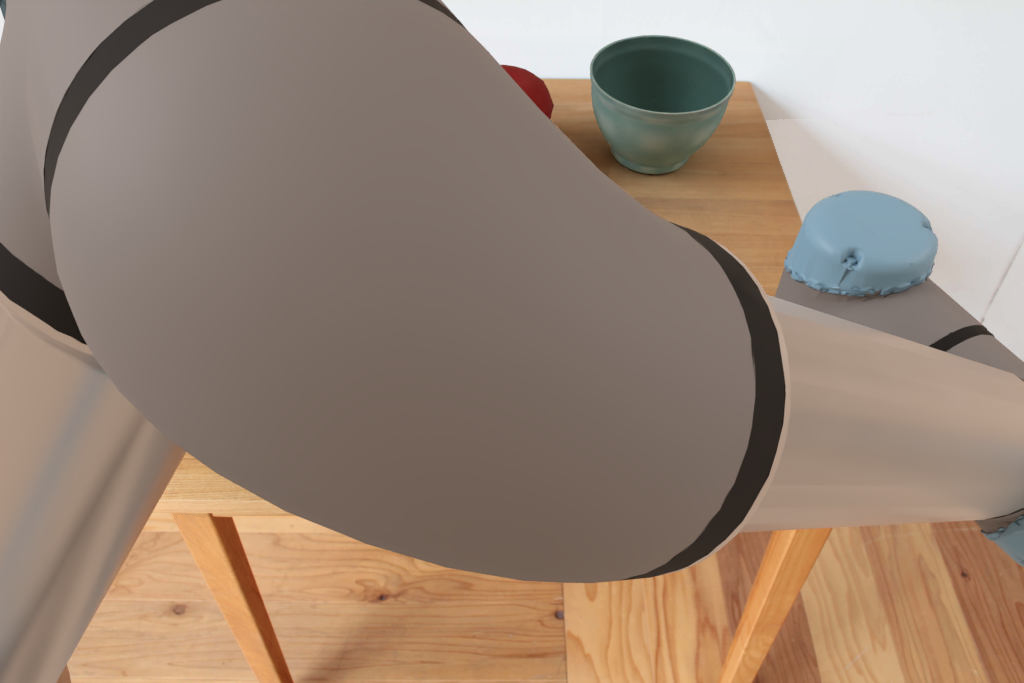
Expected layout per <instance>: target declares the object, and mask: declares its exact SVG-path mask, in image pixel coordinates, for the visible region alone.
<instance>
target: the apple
mask: <svg viewBox="0 0 1024 683" xmlns="http://www.w3.org/2000/svg"><path fill="white" fill-rule="evenodd" d="M500 65H501V66H502V68H503V69H504V70H505V71H506V72H507V73H508V74H509V75H510V76H511V78H512V79H513V80H514V81H515V82H516V83H517V84H518V85H519V87H520V88H521V89H522V90H523V91H524V92H525V93H526V94H527V96H528V97H529V98H530V99H531V100H532V101H533V102H534V103H535V105H536V106H537V107H538V108H539V109H540V110H541V111H542V112H543V113H544V114H545V115H546V116H547V117H548V118H549V119H550V120H551V118H552V115H553V110H554V106H555V105H554V102H553V99H552V97H551V93H550V91H549V89H548V86H547V85H546V83H545V81H544V80H543V79H542V78H540V77H539V76H538V75H536V74H534V72H531V70H528V69H526V68H522V67H520V66H515V65H510V64H509V65H508V64H500Z"/></svg>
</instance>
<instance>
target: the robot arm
mask: <svg viewBox="0 0 1024 683" xmlns="http://www.w3.org/2000/svg"><path fill="white" fill-rule="evenodd" d="M0 12H1V15H2V18H3V20H4V22H3V28H2V33H1V37H0V683H72V679H71V674H70V671H69V667H68V663H69V661H70V659H71V658H72V656H73V653H75V650H76V649H77V647H78V645H79V643H80V641H81V640H82V638H83V636H84V634H85V633H86V631H87V629H88V627H89V625H90V624H91V622H92V620H93V618H94V616H96V613H97V611H98V609H99V608H100V606H101V604H102V602H103V601H104V599H105V598H106V595H107V594H108V592H109V590H110V588H111V586H112V585H113V583H114V582H115V579H116V578H117V576H118V574H119V572H120V571H121V569H122V567H123V565H124V563H125V562H126V560H127V558H128V557H129V555H130V553H131V551H132V549H133V548H134V546H135V544H136V542H137V540H138V538H139V537H140V535H141V534H142V531H143V530H144V528H145V526H146V524H147V523H148V521H149V519H150V518H151V516H152V514H153V512H154V510H155V508H156V507H157V505H158V503H159V502H160V499H161V498H162V496H163V494H164V493H165V491H166V489H167V487H168V486H169V484H170V482H171V480H172V478H173V477H174V475H175V473H176V471H177V470H178V468H179V466H180V464H181V462H182V461H183V459H184V457H185V456H186V454H189V455H190V456H191V457H193V458H194V459H195V460H197V461H199V463H202V465H204V466H205V467H206V468H208V469H210V470H211V471H212V472H214V473H215V474H217V475H218V476H220V477H222V478H224V479H226V480H228V481H230V482H231V483H233V484H235V485H237V486H238V487H241V488H242V489H244V490H246V491H248V492H249V493H251V494H254V495H255V496H257V497H259V498H261V499H262V500H264V501H266V502H267V503H270V504H272V505H273V506H274V507H277V508H278V509H281V510H283V511H284V512H286V513H288V514H292V515H294V516H296V517H299V518H301V519H304V520H306V521H309V522H311V523H313V524H317V525H319V526H321V527H324V528H325V529H328V530H331V531H333V532H336V533H338V534H341V535H344V536H346V537H349V538H351V539H353V540H356V541H358V542H360V543H363V544H365V545H369V546H372V547H375V548H379V549H382V550H386V551H388V552H392V553H395V554H399V555H403V556H406V557H409V558H413V559H415V560H420V561H423V562H426V563H430V564H433V565H436V566H440V567H442V568H447V569H451V570H458V571H464V572H470V573H474V574H475V573H476V574H481V575H487V576H494V577H498V578H504V579H510V580H515V581H521V582H536V583H537V582H539V583H559V584H561V583H562V584H600V583H611V582H621V581H631V580H640V579H641V580H642V579H650V578H655V577H661V576H664V575H669V574H673V573H679V572H682V571H684V570H686V569H689V568H691V567H693V566H696V565H698V564H701V563H702V562H704V561H705V560H707V559H708V558H710V557H711V556H713V555H714V554H716V553H717V552H719V551H720V550H722V549H723V548H724V547H725V546H727V544H728V543H730V541H732V540H733V539H734V538H735V537H736V536H737V535H738V534H740V533H759V532H776V531H777V532H778V531H796V530H797V531H798V530H815V529H817V530H818V529H835V528H855V527H871V526H872V527H873V526H874V527H875V526H891V525H892V526H894V525H909V524H910V525H912V524H928V523H930V524H931V523H948V522H949V523H950V522H969V521H974V523H975V524H977V526H979V528H980V533H981V534H983V536H984V537H985V538H986V540H989V541H991V542H993V543H994V544H995V545H996V546H997V547H998V548H1000V550H1002V551H1003V552H1004V553H1005V554H1006V555H1007V556H1008V557H1009V558H1011V560H1013V561H1014V562H1015V563H1016V564H1018V565H1019V566H1021V567H1023V568H1024V361H1023V360H1022V359H1021V358H1019V357H1018V356H1017V355H1016V354H1015V353H1014V352H1012V350H1010V349H1009V348H1008V347H1006V345H1004V344H1003V343H1002V342H1001V341H1000V340H999V339H997V338H996V336H995V335H994V334H993V333H992V332H991V331H989V329H988V328H987V327H986V326H985V325H984V324H982V323H981V322H980V321H979V320H978V319H976V317H974V316H973V315H972V314H971V313H969V312H968V310H966V309H965V308H964V307H963V306H961V305H960V304H959V303H958V302H957V301H956V300H955V299H954V298H953V297H952V296H950V295H949V294H948V293H947V292H946V291H945V290H943V289H942V288H941V287H940V286H939V285H938V284H937V283H935V282H934V281H933V280H932V279H931V278H930V277H931V275H932V273H933V268H934V266H935V259H936V256H937V254H938V249H939V240H938V237H937V234H936V233H935V232H934V231H933V228H932V225H931V221H930V220H929V218H928V217H927V216H926V215H925V214H924V213H923V212H922V211H921V210H919V209H918V208H917V207H915V205H912V204H911V203H908V202H907V201H905V200H903V199H902V198H899V197H896V196H894V195H890V194H887V193H885V192H884V193H883V192H879V191H875V190H874V191H873V190H865V189H864V190H862V189H861V190H860V189H859V190H858V189H855V190H854V189H853V190H846V191H841V192H839V193H836V194H832V195H829V196H827V197H824V198H822V199H820V200H819V201H818V202H816V203H815V204H814V205H813V206H812V207H811V208H810V209H809V210H808V212H807V213H806V215H805V216H804V218H803V220H802V224H801V226H800V228H799V231H798V232H797V235H796V238H795V240H794V243H793V245H792V248H790V249H789V250H788V252H787V253H786V256H785V258H784V262H783V265H784V266H783V270H782V273H781V276H780V278H779V282H778V285H777V287H776V288H777V289H776V291H775V295H774V296H773V295H769V294H767V292H766V291H765V289H764V288H763V286H762V284H761V283H760V281H759V280H758V279H757V277H756V276H755V274H753V272H752V271H751V270H750V269H749V267H748V266H747V265H746V264H745V263H744V262H743V261H742V260H741V259H740V258H739V257H737V256H736V254H734V253H733V252H732V251H730V250H729V249H728V248H727V247H726V246H725V245H723V244H721V243H720V242H718V241H716V240H715V239H713V238H711V237H709V236H708V235H706V234H703V233H700V232H698V231H696V230H694V229H692V228H689V227H685V226H683V225H679V224H677V223H675V222H671V221H669V220H668V219H667V220H666V219H665V218H663V217H661V216H659V215H658V214H656V213H654V212H653V211H651V210H650V209H648V208H647V207H645V206H644V205H643V204H641V202H639V201H638V200H636V198H634V197H633V196H632V195H631V194H629V193H628V191H625V189H624V188H622V187H621V186H619V185H618V184H617V183H616V182H615V181H614V180H612V179H611V178H610V177H608V176H607V175H606V174H605V173H604V172H603V171H601V170H600V169H599V167H598V166H597V165H595V163H594V162H593V161H592V160H591V159H590V158H589V157H588V156H586V154H585V153H584V152H583V151H581V149H580V148H578V146H577V145H576V144H575V143H574V142H573V141H572V140H571V139H570V138H569V137H568V136H567V135H566V134H565V133H564V132H563V131H562V130H561V129H560V128H559V127H558V126H557V125H556V124H555V123H554V122H553V121H552V120H551V119H549V118H548V117H547V116H546V115H545V114H544V113H543V112H542V111H541V110H540V109H539V108H538V107H537V106H536V105H535V103H534V102H533V101H532V100H531V99H530V98H529V97H528V96H527V94H526V93H525V92H524V91H523V90H522V89H521V88H520V87H519V85H518V84H517V83H516V82H515V81H514V80H513V79H512V78H511V76H510V75H509V74H508V73H507V72H506V71H505V70H504V69H503V68H502V66H501V65H502V64H500V63H499V62H498V61H497V59H496V58H495V57H494V56H493V55H492V53H490V51H489V50H487V48H486V47H485V46H483V44H482V43H481V42H480V41H479V40H478V39H477V38H476V37H475V36H474V35H473V34H472V33H471V32H470V31H469V30H468V29H467V28H466V27H465V25H464V24H463V23H462V22H461V20H460V19H458V17H457V16H456V15H455V13H453V12H452V10H451V9H450V8H449V7H448V6H447V5H446V4H445V3H444V1H443V0H0Z"/></svg>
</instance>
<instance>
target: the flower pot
mask: <svg viewBox="0 0 1024 683" xmlns="http://www.w3.org/2000/svg"><path fill="white" fill-rule="evenodd" d="M589 78H590V83H591V84H590V96H591V105H592V110H593V114H594V118H595V121H596V123H597V126H598V128H599V130H600V133H601V134H602V136H603V138H604V139H605V140H606V142H607V143H608V146H610V151H611V155H612V156H613V157H614V159H615V160H616V161H617V162H618V163H619V164H620V165H622V166H623V167H625V168H627V169H630V170H631V171H634V172H637V173H641V174H647V175H648V174H649V175H663V174H669V173H671V172H674V171H677V170H679V169H681V168H682V167H683V166H685V165H686V163H687V162H688V161H689V159H690V157H691V156H692V155H694V154H695V153H697V151H699V150H700V149H701V148H702V147H703V146H704V145H705V144H706V143H707V142H708V141H709V140H710V139H711V137H712V136H713V134H714V133H715V132H716V130H717V128H718V127H719V126H720V124H721V122H722V120H723V118H724V116H725V113H726V111H727V108H728V105H729V102H730V100H731V98H732V96H733V94H734V91H735V88H736V84H737V77H736V73H735V70H734V68H733V66H732V65H731V63H730V62H728V60H727V59H726V58H725V57H723V56H722V54H720V53H719V52H717V51H716V50H714V49H712V48H711V47H709V46H708V45H705V44H702V43H700V42H696V41H694V40H690V39H686V38H682V37H678V36H671V35H660V34H647V35H646V34H645V35H644V34H641V35H636V36H629V37H625V38H621V39H618V40H615V41H612V42H610V43H608V44H606V45H605V46H603V47H602V48H600V49H599V50H598V51H597V52H596V53H595V54H594V56H593V58H592V59H591V61H590V65H589Z"/></svg>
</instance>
